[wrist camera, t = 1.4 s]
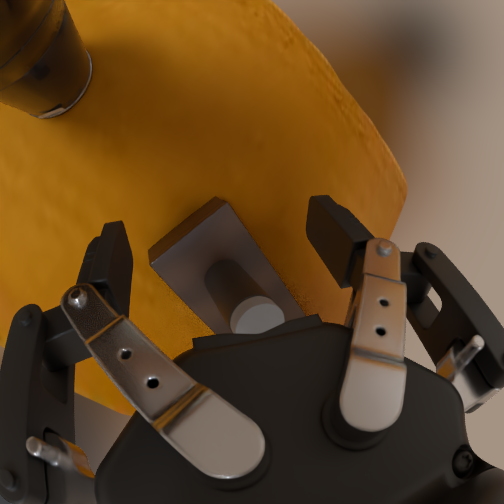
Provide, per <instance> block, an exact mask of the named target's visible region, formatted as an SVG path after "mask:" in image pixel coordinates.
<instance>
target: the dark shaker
mask: <svg viewBox="0 0 504 504" xmlns="http://www.w3.org/2000/svg"><path fill="white" fill-rule="evenodd" d="M205 286H206V288H207V290H208V292H209V294H210V295H211V297H212V299H213V301H214V303H215V304H216V306H217V308H218V310H219V311H220V313H221V315H222V317H223V318H224V320H225V322H226V324H227V325H228V327H229V329H230V331H231V332H232V333H239V334H259V333H263V332H265V331H267V330H269V329H272V328H274V327H276V326H278V325H280V324H282V323H284V321H285V320H284V314H283V312H282V310H281V309H280V308H279V307H278V306H277V304H276V303H275V301H274V300H273V299H272V298H271V297H270V296H269V295H268V294H267V293H266V292H265V291H264V290H263V289H262V288H261V286H260V285H259V284H258V283H257V282H256V281H255V280H254V279H253V278H252V277H251V276H250V275H249V274H248V273H247V272H246V271H245V270H244V269H243V268H242V267H241V266H240V265H239V264H238V263H237V262H235V261H233V260H220V261H218V262H216V263H214V264H213V265H212V266H211V267H210V268H209V269H208V271H207V273H206V275H205Z"/></svg>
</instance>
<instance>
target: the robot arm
mask: <svg viewBox="0 0 504 504" xmlns="http://www.w3.org/2000/svg"><path fill="white" fill-rule="evenodd" d="M91 77H92V61H91V58H90V55H89V53H88V52H87V50H86V49H85V47H84V44H83V42H82V40H81V38H80V35H79V33H78V31H77V29H76V27H75V24H74V22H73V20H72V17H71V15H70V13H69V10H68V8H67V6H66V3H65V1H64V0H0V102H1V103H3V104H6V105H9V106H11V107H14V108H17V109H19V110H22V111H24V112H27V113H28V114H30V115H32V116H34V117H37V118H40V119H42V118H52V117H56V116H59V115H61V114H63V113H65V112H66V111H68V110H69V109H71V108H72V107H73V106H74V105H75V104H76V103H77V102H78V101H79V100H80V99H81V98H82V96H83V95H84V93H85V92H86V90H87V88H88V86H89V84H90V81H91ZM306 234H307V237H308V239H309V241H310V242H311V244H312V245H313V247H314V248H315V250H316V251H317V253H318V254H319V256H320V257H321V259H322V260H323V262H324V263H325V265H326V266H327V268H328V269H329V271H330V273H331V274H332V276H333V277H334V279H335V280H336V282H337V283H338V285H339V286H340V288H341V289H342V288H346V287H351V286H352V288H353V291H352V294H351V297H350V302H349V306H348V311H347V315H346V319H345V323H344V325H340V324H335V323H327V322H322V321H321V319H320V317H319V315H318V314H314V315H310V316H306V317H301V318H297V319H293V320H289V321H287V322H284V323H282V324H280V325H278V326H276V327H274V328H272V329H269V330H267V331H265V332H263V333H259V334H239V333H222V334H216V335H210V336H204V337H198V338H192V341H193V348H192V349H190V350H187V351H185V352H184V353H182V354H180V355H179V356H177V357H176V358H174V359H173V360H171V359H170V358H169V357H168V356H166V355H165V354H164V353H163V352H162V351H161V350H160V349H159V348H158V347H157V346H156V345H155V344H154V343H152V342H151V341H150V340H149V339H148V338H147V337H146V336H145V335H144V334H143V333H142V332H141V331H140V330H139V329H138V328H137V327H136V326H135V325H134V324H133V323H132V322H131V321H130V320H129V305H130V292H131V281H132V271H133V256H132V251H131V248H130V244H129V241H128V237H127V234H126V230H125V227H124V224H123V222H122V221H116V222H110V223H105V224H104V227H103V230H102V233H101V236H99V237H95V238H94V239H93V240H92V241H91V243H90V244H89V245H88V247H87V250H86V253H85V256H84V259H83V263H82V266H81V269H80V272H79V276H78V279H77V283H76V285H74V286H72V287H71V288H69V289H68V290H67V291H66V292H65V293H64V295H63V296H62V298H61V302H60V305H59V306H57V307H55V308H52V309H50V310H48V311H45V312H42V310H41V309H40V307H39V306H38V305H36V304H29V305H26V306H24V307H22V308H21V309H20V310H19V311H18V312H17V313H16V314H15V316H14V317H13V320H12V323H11V327H10V330H9V334H8V338H7V342H6V346H5V350H4V355H3V360H2V365H1V369H0V495H1V496H2V497H3V498H4V499H5V500H6V501H8V502H10V503H12V504H504V471H503V470H502V469H499V468H497V467H494V466H492V465H490V464H488V463H487V462H485V461H483V460H482V459H481V458H479V457H478V456H477V455H476V454H475V453H474V452H473V450H472V449H471V447H470V445H469V442H468V437H467V433H466V426H465V414H464V413H471V412H473V411H475V410H476V409H478V408H479V407H480V406H481V405H483V404H484V403H485V402H486V401H488V400H489V399H490V398H491V397H493V396H494V395H495V394H496V393H497V392H499V390H501V389H502V388H503V387H504V328H503V327H502V325H501V324H500V322H499V321H498V320H497V318H496V317H495V316H494V314H493V313H492V311H491V310H490V309H489V307H488V306H487V305H486V303H485V302H484V301H483V299H482V298H481V297H480V295H479V294H478V293H477V292H476V290H474V288H473V287H472V285H470V283H469V282H468V281H467V279H466V278H465V277H464V276H463V275H462V273H461V272H460V271H459V270H458V269H457V268H456V266H455V265H454V264H453V263H452V262H451V261H450V260H449V259H448V258H447V256H446V255H445V254H444V253H443V252H442V251H441V250H440V249H439V248H438V247H436V246H435V245H433V244H430V243H426V242H421V243H418V244H417V245H416V248H415V250H414V253H413V252H401V251H400V250H399V248H398V247H397V246H396V245H395V244H394V243H392V242H391V241H389V240H386V239H383V238H375V237H374V236H373V235H372V234H371V233H370V232H369V231H368V230H367V229H366V227H365V226H364V225H363V224H362V223H360V221H359V220H358V219H357V218H355V216H354V215H353V214H352V213H351V212H350V211H349V210H348V209H346V208H344V207H343V206H341V205H337V203H336V202H335V201H334V200H333V199H332V198H331V197H330V196H329V195H318V196H311V197H310V199H309V206H308V214H307V222H306ZM431 287H433V288H434V290H435V291H436V292H437V294H438V295H439V296H440V298H441V301H442V308H441V311H440V312H439V311H438V310H437V308H436V307H435V305H434V304H433V302H432V301H431V300H430V298H429V297H428V296H427V294H428V293H429V291H430V289H431ZM406 318H407V319H408V321H409V322H410V324H411V325H412V327H413V329H414V330H415V332H416V334H417V335H418V337H419V339H420V340H421V342H422V343H423V345H424V347H425V349H426V351H427V352H428V354H429V356H430V357H431V359H432V361H433V363H434V364H435V366H436V373H435V372H433V371H431V370H429V369H427V368H425V367H423V366H422V365H420V364H418V363H416V362H413V361H412V360H410V359H408V358H406V357H404V346H405V332H406ZM92 356H93V357H94V358H95V360H96V361H97V362H98V364H99V365H100V366H101V368H102V369H103V370H104V372H105V373H106V374H107V375H108V377H109V378H110V379H111V380H112V382H113V383H114V384H115V385H116V387H117V388H118V389H119V390H120V391H121V393H122V394H123V395H124V396H125V397H126V398H127V400H128V401H129V402H130V403H131V404H132V405H133V406H134V407H135V409H136V411H135V413H134V414H133V416H132V417H131V419H130V420H129V422H128V423H127V425H126V426H125V428H124V429H123V431H122V432H121V434H120V435H119V437H118V438H117V440H116V441H115V443H114V444H113V446H112V447H111V449H110V450H109V452H108V453H107V455H106V456H105V458H104V459H103V461H102V462H101V464H100V465H99V467H98V469H97V472H96V475H94V474H93V472H92V471H91V469H90V466H89V462H88V459H87V456H86V455H85V453H84V452H83V451H82V450H81V449H80V448H79V447H77V446H76V445H75V428H74V380H75V363H77V362H80V361H82V360H85V359H87V358H90V357H92Z"/></svg>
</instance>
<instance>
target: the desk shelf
mask: <svg viewBox="0 0 504 504" xmlns="http://www.w3.org/2000/svg"><path fill="white" fill-rule="evenodd" d="M148 254H149V263H150V266H151V267H152V268H153V269H154V270H155V271H156V273H157V274H158V275H159V276H160V277H161V278H162V279H163V280H164V281H165V282H166V283H167V285H168V286H169V287H170V288H171V289H172V290H173V291H174V292H175V293H176V294H177V295H178V296H179V297H180V298H181V299H182V300H183V301H184V302H185V304H186V305H187V306H188V307H189V308H190V309H191V310H192V311H193V312H194V313H195V314H196V315H197V316H198V317H199V318H200V319H201V320H202V321H203V322H204V323H205V324H206V325H207V326H208V327H209V328H210V329H211V330H212V331H213V332H214V333H215V334H222V333H232V332H231V331H230V329H229V327H228V325H227V324H226V322H225V320H224V318H223V317H222V315H221V313H220V311H219V310H218V308H217V306H216V304H215V303H214V301H213V299H212V297H211V295H210V294H209V292H208V290H207V288H206V286H205V275H206V273H207V271H208V269H209V268H210V267H211V266H212V265H213V264H214V263H216V262H218V261H220V260H233V261H235V262H237V263H238V264H239V265H240V266H241V267H242V268H243V269H244V270H245V271H246V272H247V273H248V274H249V275H250V276H251V277H252V278H253V279H254V280H255V281H256V282H257V283H258V284H259V285H260V286H261V288H262V289H263V290H264V291H265V292H266V293H267V294H268V295H269V296H270V297H271V298H272V299H273V300H274V301H275V303H276V304H277V306H278V307H279V308H280V309H281V310H282V312H283V314H284V320H285V321H284V322H287V321H289V320H293V319H297V318H301V317H306V315H305V314H304V312H303V311H302V309H301V308H300V306H299V305H298V303H297V302H296V301H295V299H294V298H293V296H292V295H291V293H290V292H289V290H288V289H287V287H286V286H285V284H284V283H283V282H282V280H281V279H280V277H279V276H278V274H277V273H276V271H275V270H274V269H273V267H272V266H271V264H270V263H269V261H268V260H267V258H266V257H265V255H264V254H263V253H262V251H261V250H260V248H259V247H258V245H257V244H256V242H255V241H254V240H253V238H252V237H251V235H250V234H249V232H248V231H247V229H246V228H245V227H244V225H243V224H242V222H241V221H240V219H239V218H238V217H237V215H236V214H235V212H234V211H233V209H232V208H231V207H230V205H229V204H228V203H227V202H225V201H224V200H221V199H219V198H217V197H214V198H212V199H211V200H210V201H209V202H207V203H206V204H205V205H203V206H202V207H201V208H199V209H198V210H197V211H196V212H194V213H193V214H192V215H191V216H189V217H188V218H187V219H185V220H184V221H183V222H182V223H180V224H179V225H178V226H177V227H175V228H174V229H173V230H172V231H171V232H169V233H168V234H167V235H166V236H164V237H163V238H162V239H161V240H160V241H158V242H157V243H156V244H155V245H154V246H152V247H151V248H150V249H149V250H148Z"/></svg>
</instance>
